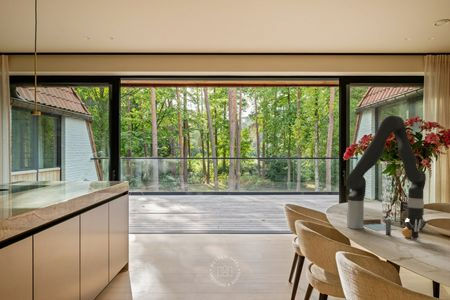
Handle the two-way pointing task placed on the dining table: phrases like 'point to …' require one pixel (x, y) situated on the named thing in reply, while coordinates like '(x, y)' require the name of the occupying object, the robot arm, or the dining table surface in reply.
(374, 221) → the stopper
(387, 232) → the post
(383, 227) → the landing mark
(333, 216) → the dining table surface
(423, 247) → the dining table surface
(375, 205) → the dining table surface
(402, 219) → the coffee box
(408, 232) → the ball
